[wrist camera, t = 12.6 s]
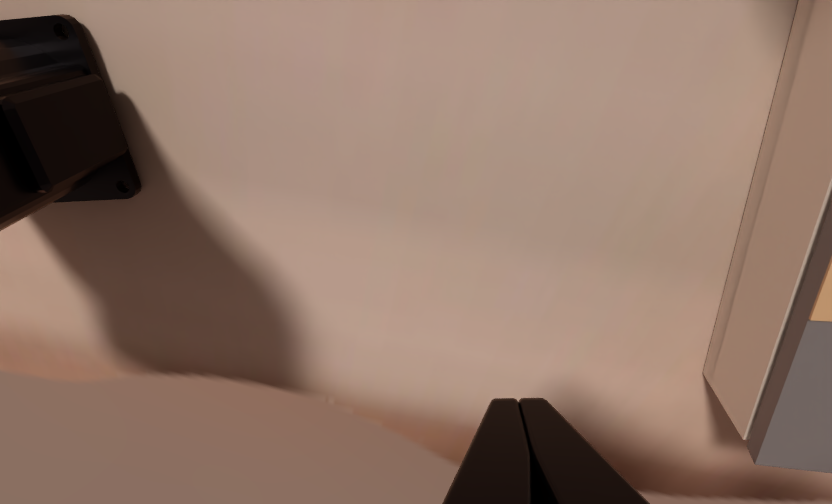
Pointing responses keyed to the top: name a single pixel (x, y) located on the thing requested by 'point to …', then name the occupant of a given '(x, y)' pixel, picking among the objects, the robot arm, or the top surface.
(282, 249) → the top surface
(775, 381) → the flap lid
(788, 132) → the storage box
